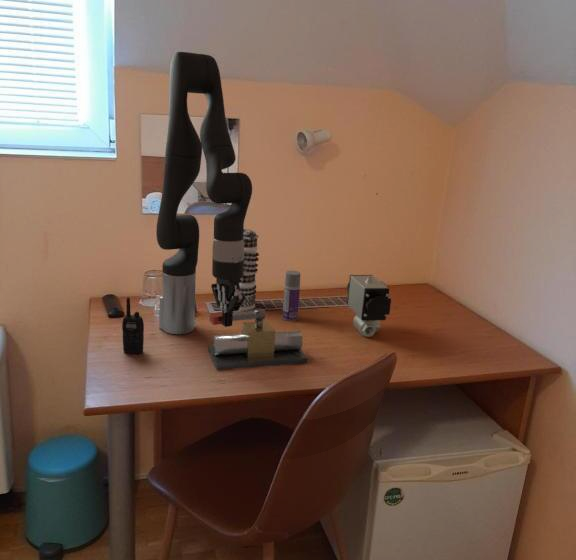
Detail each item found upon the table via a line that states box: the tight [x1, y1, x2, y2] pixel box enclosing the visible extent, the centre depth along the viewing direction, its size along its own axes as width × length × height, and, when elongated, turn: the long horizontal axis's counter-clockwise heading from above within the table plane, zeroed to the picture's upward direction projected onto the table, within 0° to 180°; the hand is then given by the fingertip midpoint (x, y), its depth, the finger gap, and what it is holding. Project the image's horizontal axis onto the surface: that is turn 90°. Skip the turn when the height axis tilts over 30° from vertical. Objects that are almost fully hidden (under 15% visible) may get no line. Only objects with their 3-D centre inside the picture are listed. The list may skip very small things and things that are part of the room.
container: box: [282, 270, 301, 322], centre depth 182 cm, size 5×5×15 cm
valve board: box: [207, 319, 309, 371], centre depth 154 cm, size 24×12×11 cm, turn 107°
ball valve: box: [346, 274, 392, 338], centre depth 175 cm, size 18×8×18 cm, turn 14°
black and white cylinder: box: [238, 228, 260, 311], centre depth 189 cm, size 9×9×25 cm
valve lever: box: [209, 308, 267, 326], centre depth 149 cm, size 14×3×2 cm, turn 115°
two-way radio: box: [121, 297, 145, 355], centre depth 151 cm, size 6×4×15 cm
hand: (227, 325), depth 145 cm, fingers closed
